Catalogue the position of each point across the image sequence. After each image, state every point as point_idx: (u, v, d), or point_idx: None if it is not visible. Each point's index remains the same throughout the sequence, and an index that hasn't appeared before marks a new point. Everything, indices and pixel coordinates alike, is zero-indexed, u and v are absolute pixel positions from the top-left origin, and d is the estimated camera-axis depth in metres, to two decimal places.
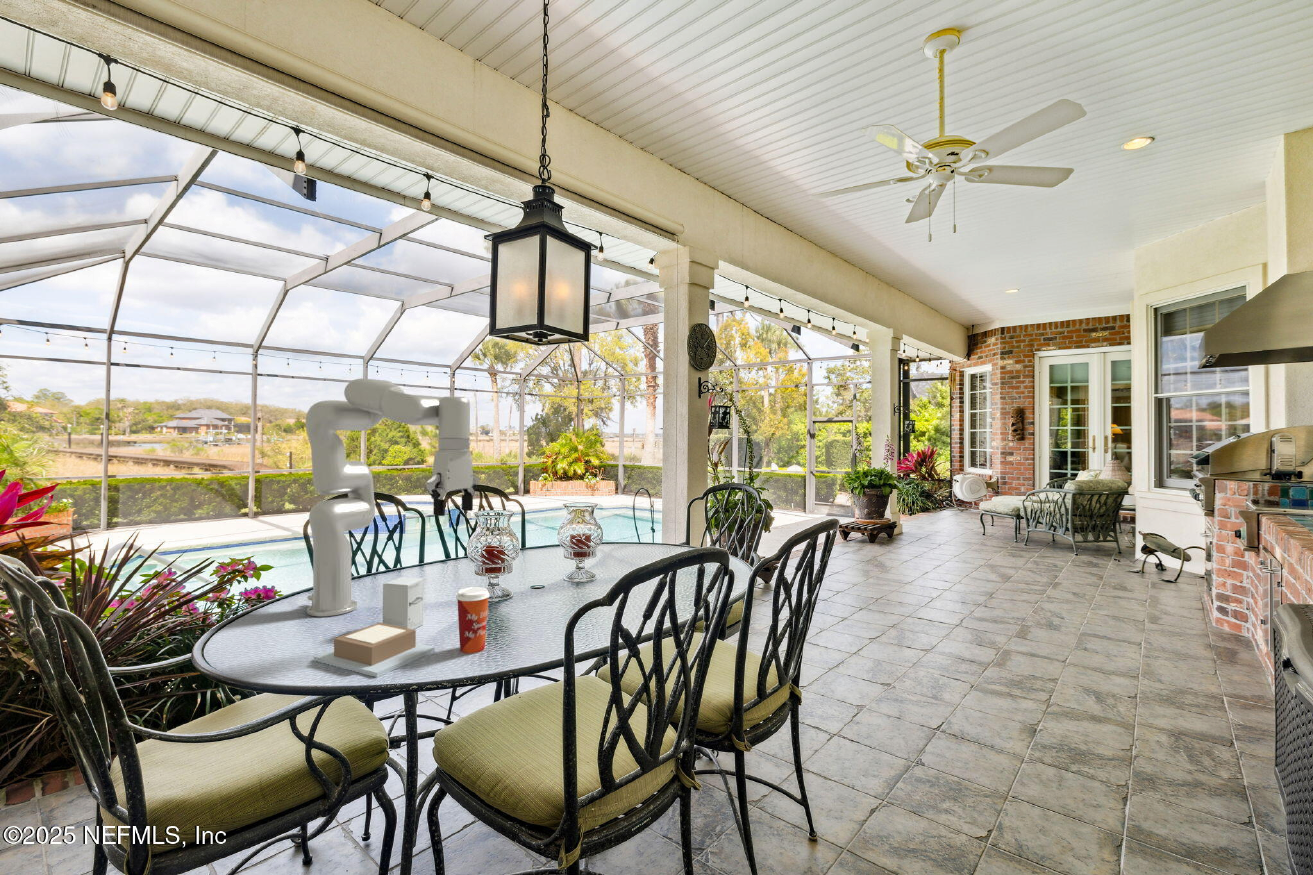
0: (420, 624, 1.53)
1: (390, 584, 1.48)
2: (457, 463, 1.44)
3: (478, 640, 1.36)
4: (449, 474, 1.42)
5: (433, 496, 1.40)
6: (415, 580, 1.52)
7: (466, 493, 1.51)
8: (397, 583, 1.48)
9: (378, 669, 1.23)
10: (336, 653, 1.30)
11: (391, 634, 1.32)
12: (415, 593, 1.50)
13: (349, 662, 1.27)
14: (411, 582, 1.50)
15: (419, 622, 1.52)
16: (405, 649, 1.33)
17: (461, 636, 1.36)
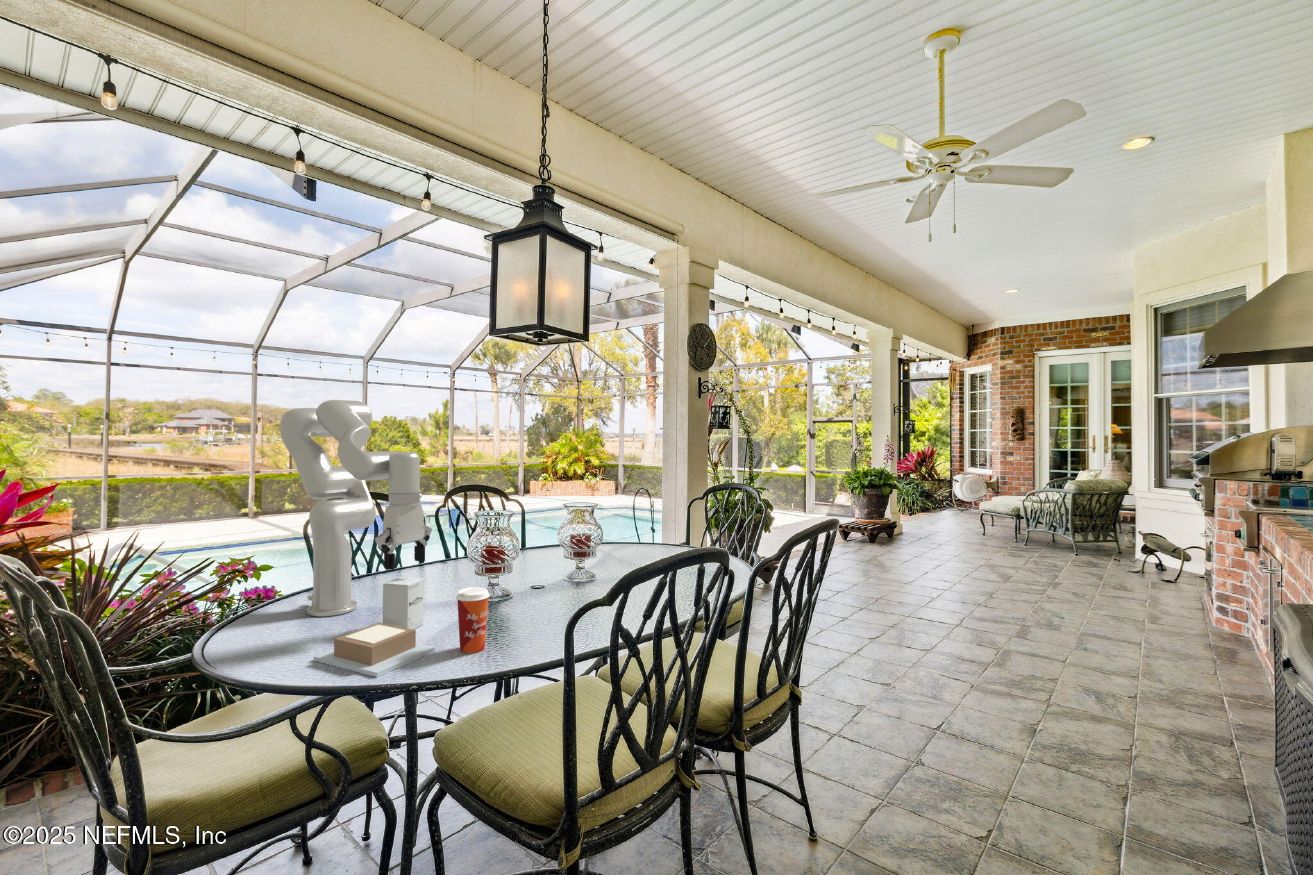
0: (420, 624, 1.53)
1: (390, 584, 1.48)
2: (407, 517, 1.48)
3: (478, 640, 1.36)
4: (399, 529, 1.46)
5: (383, 551, 1.45)
6: (415, 580, 1.52)
7: (418, 544, 1.55)
8: (397, 583, 1.48)
9: (378, 669, 1.23)
10: (336, 653, 1.30)
11: (391, 634, 1.32)
12: (415, 593, 1.50)
13: (349, 662, 1.27)
14: (411, 582, 1.50)
15: (419, 622, 1.52)
16: (405, 649, 1.33)
17: (461, 636, 1.36)
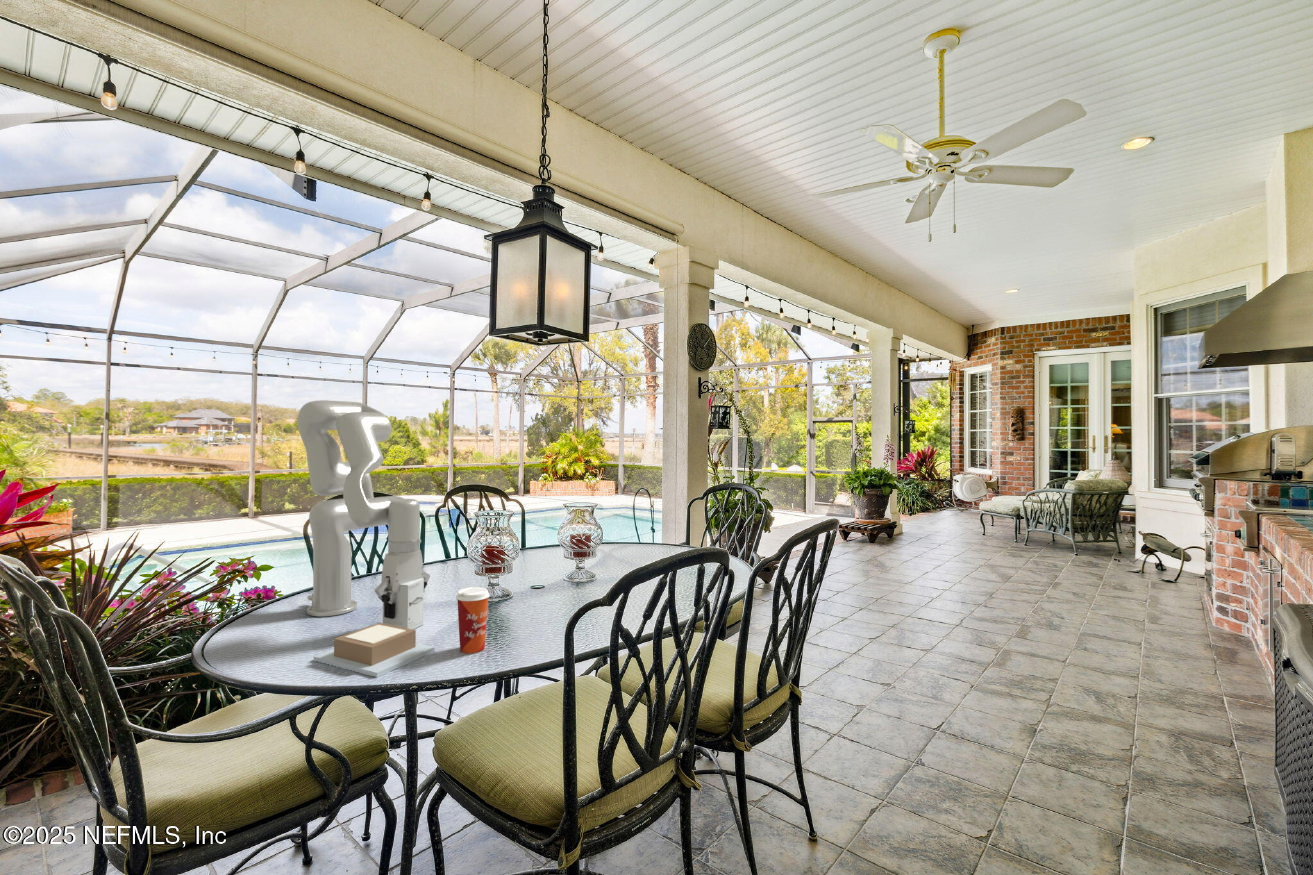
0: (420, 624, 1.53)
1: None
2: (406, 565, 1.49)
3: (478, 640, 1.36)
4: (398, 577, 1.47)
5: (383, 600, 1.46)
6: (415, 580, 1.52)
7: None
8: None
9: (378, 669, 1.23)
10: (336, 653, 1.30)
11: (391, 634, 1.32)
12: (415, 593, 1.50)
13: (349, 662, 1.27)
14: (411, 582, 1.50)
15: (419, 621, 1.52)
16: (405, 649, 1.33)
17: (461, 636, 1.36)
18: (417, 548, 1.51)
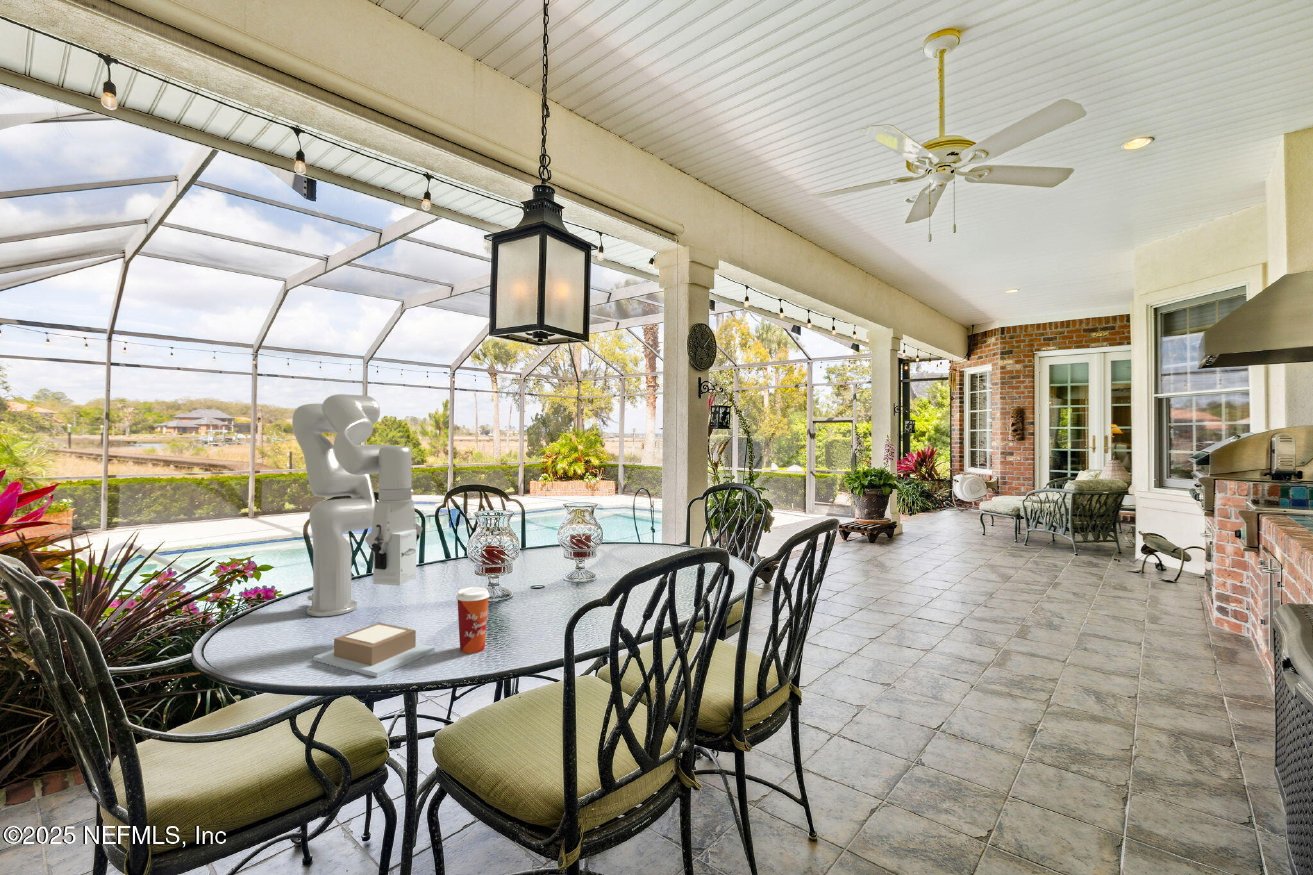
0: (413, 577, 1.46)
1: None
2: (398, 513, 1.42)
3: (478, 640, 1.36)
4: (389, 526, 1.40)
5: (374, 550, 1.39)
6: (407, 531, 1.45)
7: None
8: None
9: (378, 669, 1.23)
10: (336, 653, 1.30)
11: (391, 634, 1.32)
12: (408, 543, 1.43)
13: (349, 662, 1.27)
14: (403, 532, 1.43)
15: (412, 574, 1.45)
16: (405, 649, 1.33)
17: (461, 636, 1.36)
18: (409, 497, 1.44)
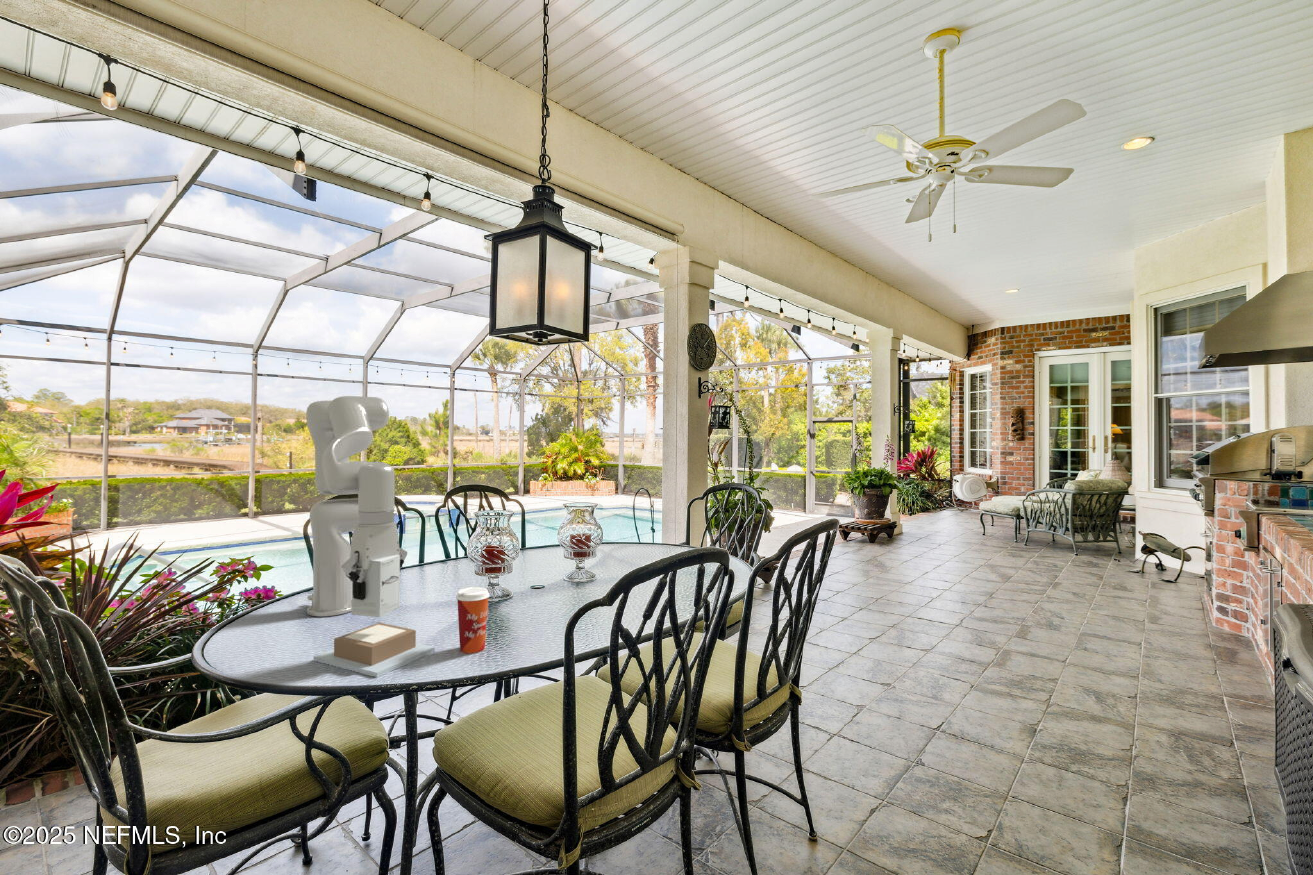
0: (395, 607, 1.34)
1: None
2: (379, 538, 1.30)
3: (478, 640, 1.36)
4: (369, 552, 1.28)
5: (351, 579, 1.27)
6: (390, 556, 1.33)
7: None
8: None
9: (378, 669, 1.23)
10: (336, 653, 1.30)
11: (391, 634, 1.32)
12: (389, 571, 1.32)
13: (349, 662, 1.27)
14: (385, 558, 1.31)
15: (394, 604, 1.34)
16: (405, 649, 1.33)
17: (461, 636, 1.36)
18: (391, 520, 1.32)
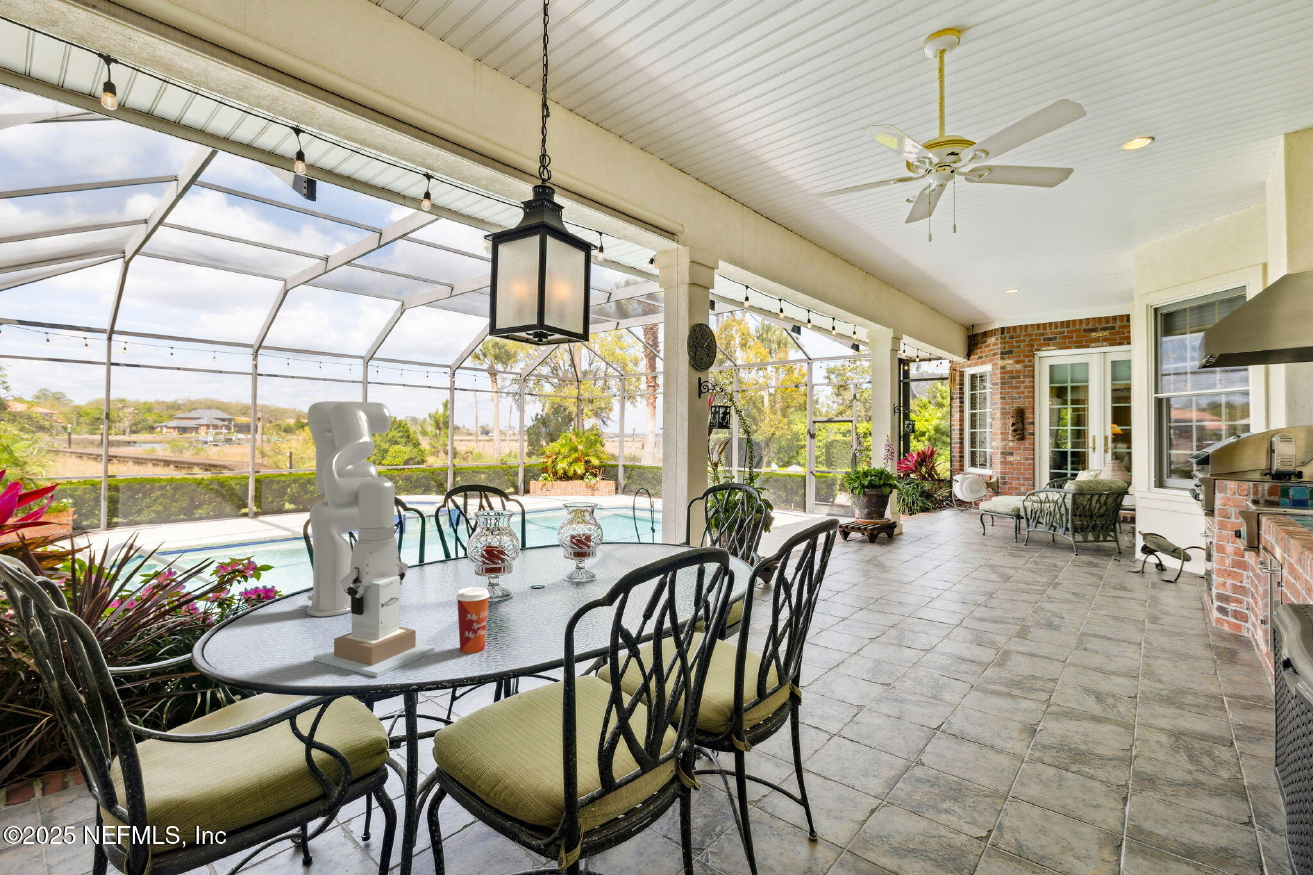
0: (395, 628, 1.35)
1: (360, 582, 1.30)
2: (379, 554, 1.30)
3: (478, 640, 1.36)
4: (368, 569, 1.28)
5: (349, 594, 1.27)
6: (389, 578, 1.33)
7: None
8: None
9: (378, 669, 1.23)
10: (336, 653, 1.30)
11: (391, 634, 1.32)
12: (389, 593, 1.32)
13: (349, 662, 1.27)
14: (384, 580, 1.31)
15: (394, 625, 1.34)
16: (405, 649, 1.33)
17: (461, 636, 1.36)
18: (391, 536, 1.32)
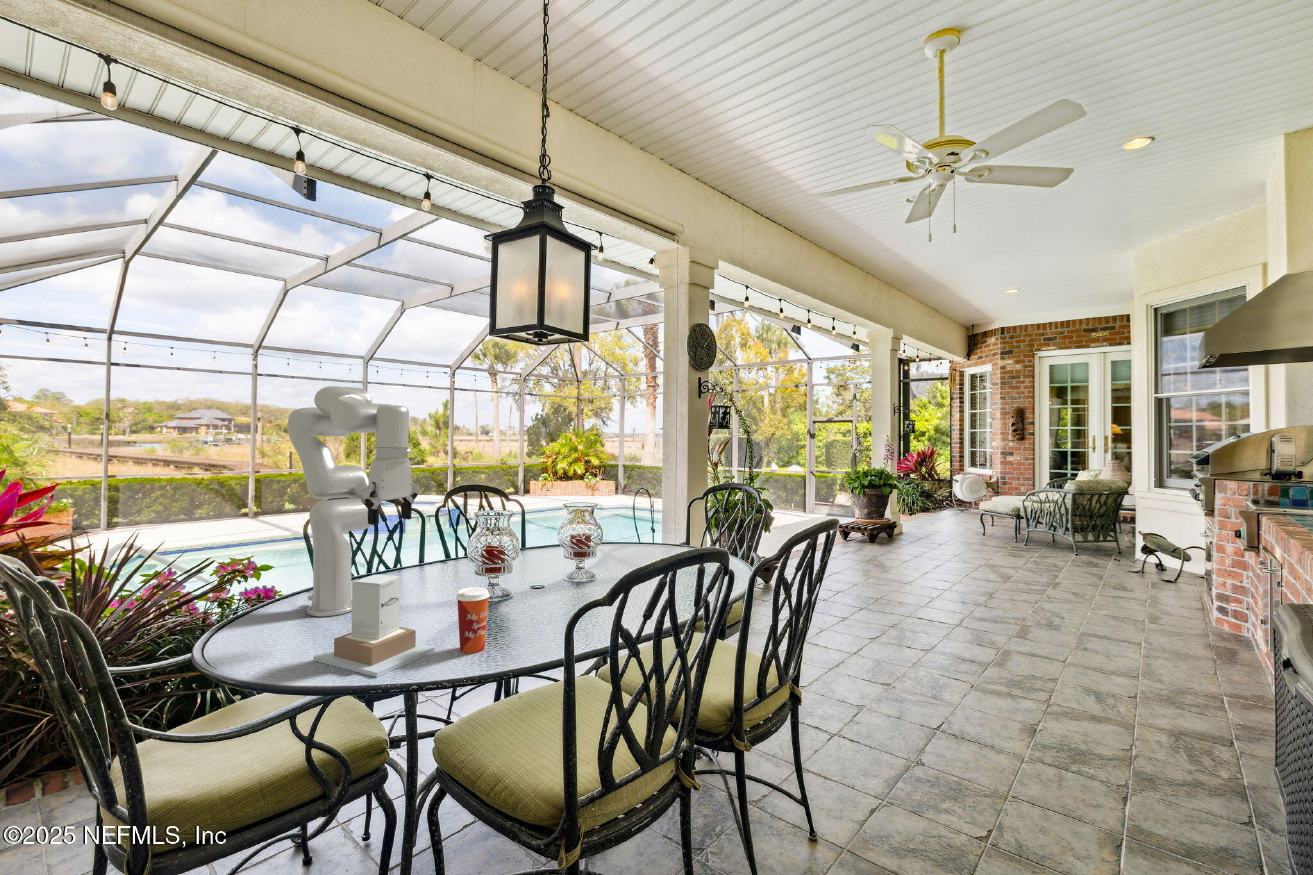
0: (395, 628, 1.35)
1: (360, 582, 1.30)
2: (393, 472, 1.43)
3: (478, 640, 1.36)
4: (384, 484, 1.41)
5: (366, 505, 1.40)
6: (389, 578, 1.33)
7: (405, 501, 1.50)
8: (368, 581, 1.30)
9: (378, 669, 1.23)
10: (336, 653, 1.30)
11: (391, 634, 1.32)
12: (389, 593, 1.32)
13: (349, 662, 1.27)
14: (384, 580, 1.31)
15: (394, 625, 1.34)
16: (405, 649, 1.33)
17: (461, 636, 1.36)
18: (405, 456, 1.45)
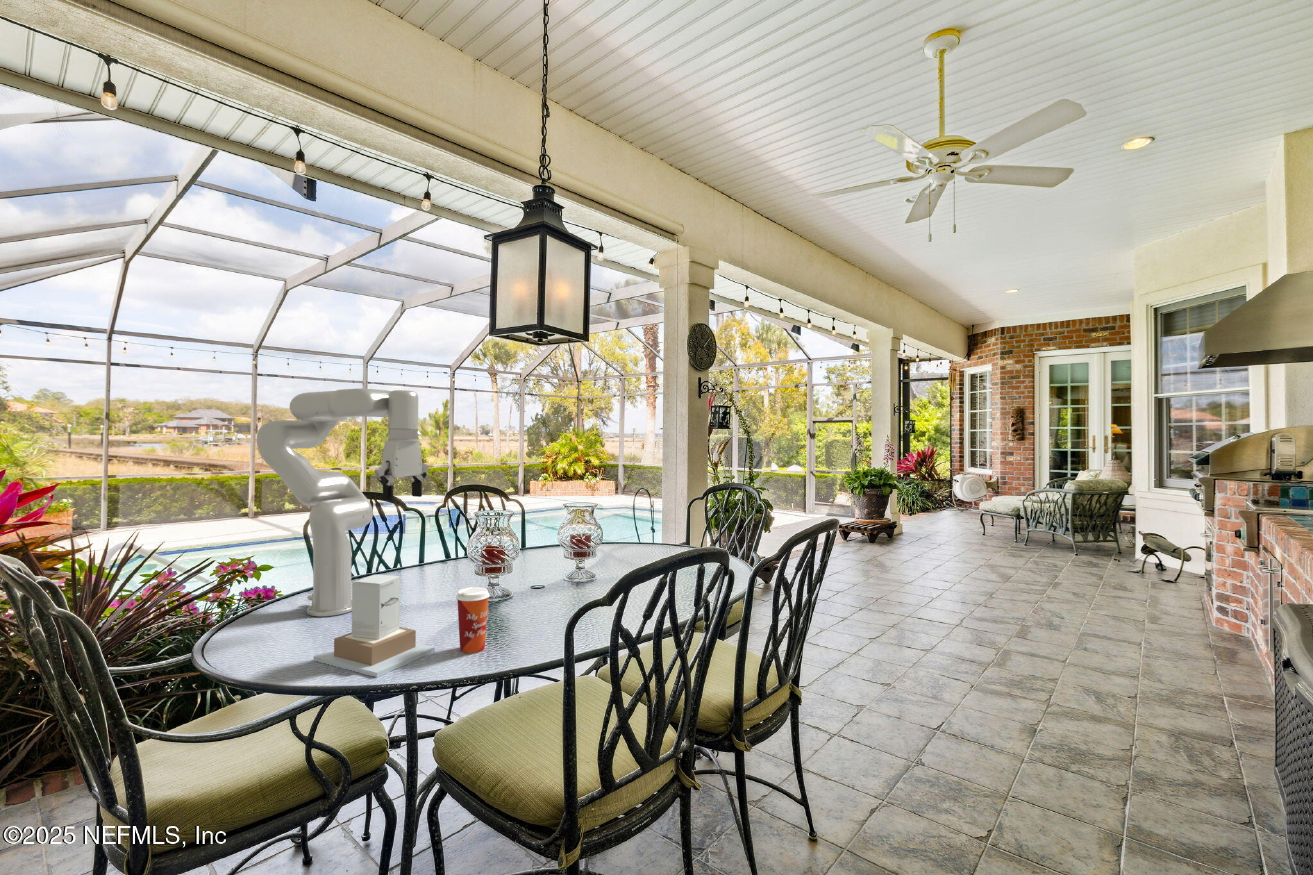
0: (395, 628, 1.35)
1: (360, 582, 1.30)
2: (405, 451, 1.55)
3: (478, 640, 1.36)
4: (397, 462, 1.53)
5: (382, 482, 1.52)
6: (389, 578, 1.33)
7: (416, 480, 1.62)
8: (368, 581, 1.30)
9: (378, 669, 1.23)
10: (336, 653, 1.30)
11: (391, 634, 1.32)
12: (389, 593, 1.32)
13: (349, 662, 1.27)
14: (384, 580, 1.31)
15: (394, 625, 1.34)
16: (405, 649, 1.33)
17: (461, 636, 1.36)
18: (416, 437, 1.57)
